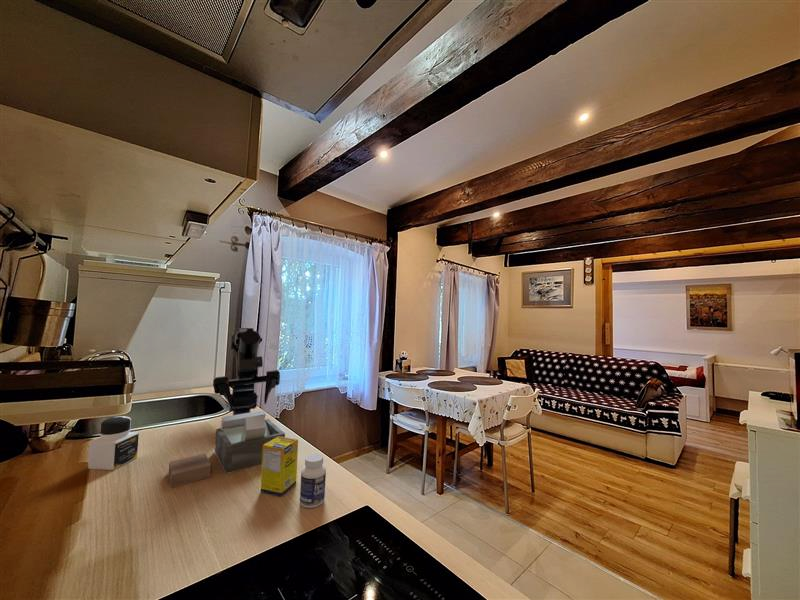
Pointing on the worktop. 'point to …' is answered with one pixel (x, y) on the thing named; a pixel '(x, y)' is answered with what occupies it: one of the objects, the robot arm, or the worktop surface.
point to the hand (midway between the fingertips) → (248, 406)
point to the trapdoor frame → (243, 449)
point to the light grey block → (253, 428)
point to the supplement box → (279, 465)
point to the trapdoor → (233, 423)
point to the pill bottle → (313, 481)
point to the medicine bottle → (113, 444)
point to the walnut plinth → (189, 470)
